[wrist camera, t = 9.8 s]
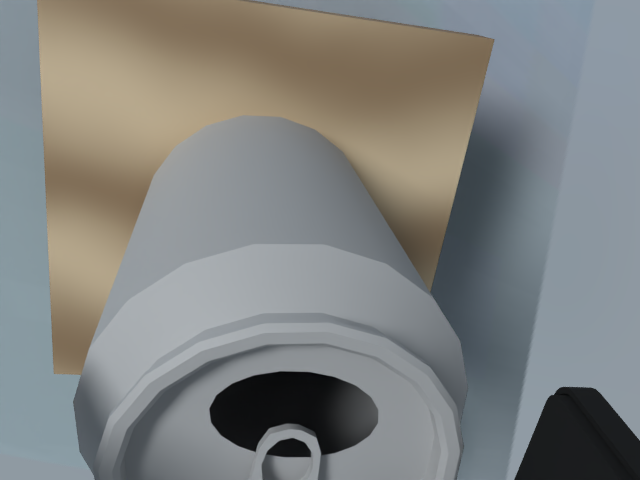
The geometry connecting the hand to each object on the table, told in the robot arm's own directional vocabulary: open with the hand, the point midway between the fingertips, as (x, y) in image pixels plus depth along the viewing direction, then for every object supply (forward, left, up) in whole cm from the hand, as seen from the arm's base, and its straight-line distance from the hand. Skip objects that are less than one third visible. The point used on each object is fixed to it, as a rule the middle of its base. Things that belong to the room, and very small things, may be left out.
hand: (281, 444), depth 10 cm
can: (+1, 0, -12) cm, 12 cm away
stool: (+1, 0, -20) cm, 20 cm away
